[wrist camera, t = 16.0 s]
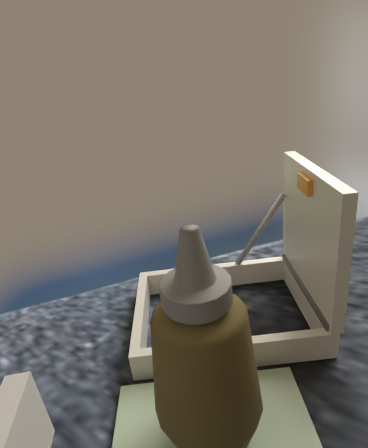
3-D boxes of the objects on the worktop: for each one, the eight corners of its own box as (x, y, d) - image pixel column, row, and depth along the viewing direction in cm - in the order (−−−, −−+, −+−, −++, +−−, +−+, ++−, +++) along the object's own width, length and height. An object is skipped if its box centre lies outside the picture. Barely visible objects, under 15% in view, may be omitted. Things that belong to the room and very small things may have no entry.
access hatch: (291, 274, 48) (294, 150, 41) (341, 357, 34) (358, 192, 27) (143, 291, 48) (121, 171, 41) (133, 380, 34) (97, 222, 27)
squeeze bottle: (279, 475, 24) (281, 250, 17) (165, 498, 24) (116, 276, 17) (247, 382, 32) (238, 196, 24) (159, 398, 31) (123, 213, 24)
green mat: (289, 371, 33) (289, 366, 33) (342, 503, 23) (343, 498, 23) (122, 390, 33) (121, 386, 33) (102, 530, 23) (100, 525, 23)
